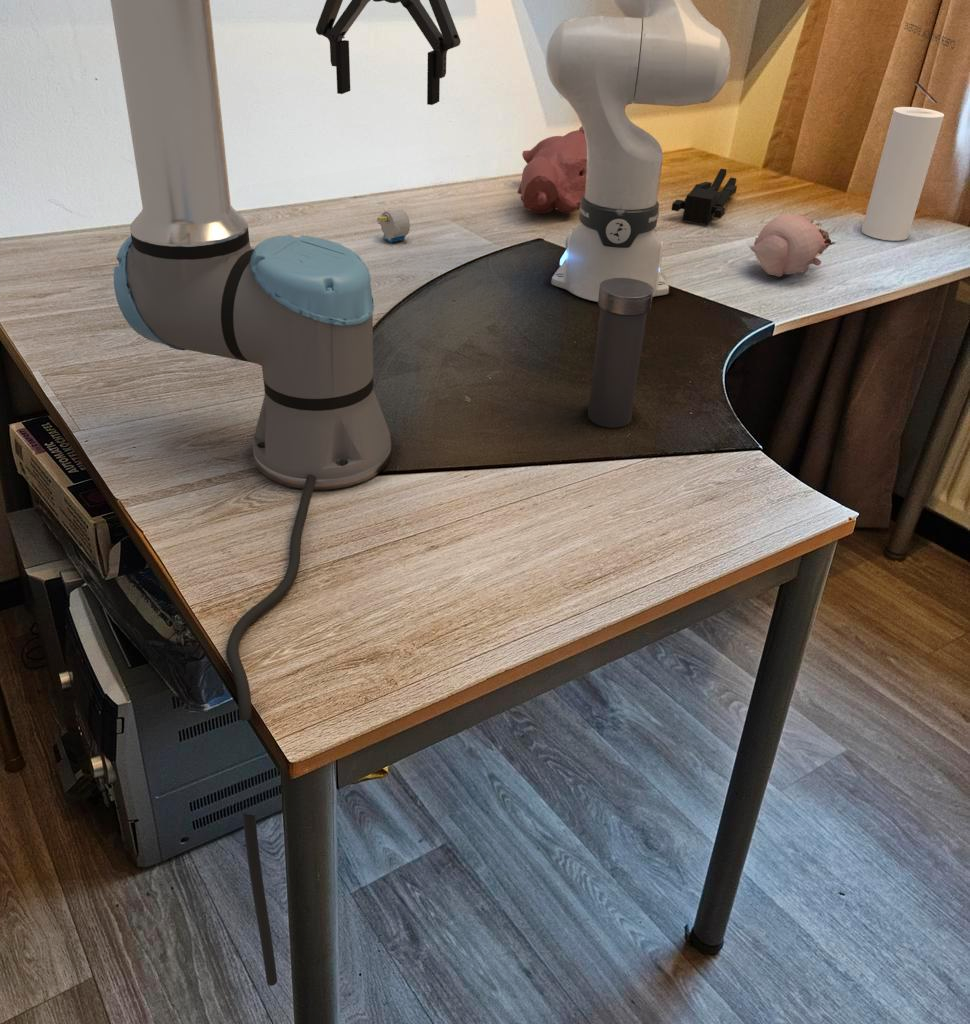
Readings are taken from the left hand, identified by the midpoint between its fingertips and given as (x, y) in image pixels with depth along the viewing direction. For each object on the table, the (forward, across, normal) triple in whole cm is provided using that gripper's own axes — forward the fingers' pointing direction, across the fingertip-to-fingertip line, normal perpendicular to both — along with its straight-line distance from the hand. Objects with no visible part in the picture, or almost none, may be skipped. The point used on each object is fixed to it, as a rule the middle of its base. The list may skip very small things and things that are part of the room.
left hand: (388, 97), depth 135 cm
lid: (+12, -41, +27) cm, 51 cm away
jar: (+28, -41, +27) cm, 57 cm away
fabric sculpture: (+28, -15, -57) cm, 65 cm away
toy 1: (+28, -40, -70) cm, 85 cm away
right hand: (-20, -39, +15) cm, 46 cm away
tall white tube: (+28, -73, -67) cm, 103 cm away
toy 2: (+28, -57, -36) cm, 73 cm away
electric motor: (+28, +9, -21) cm, 36 cm away
